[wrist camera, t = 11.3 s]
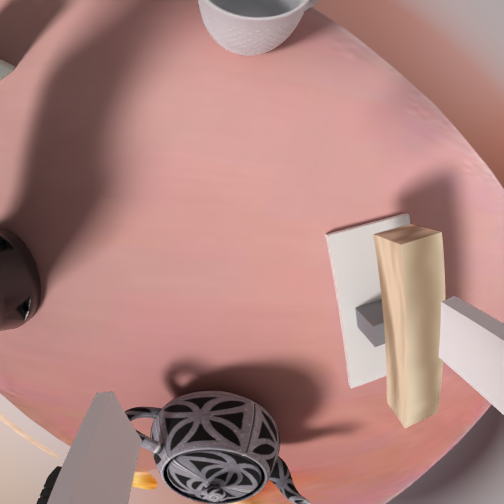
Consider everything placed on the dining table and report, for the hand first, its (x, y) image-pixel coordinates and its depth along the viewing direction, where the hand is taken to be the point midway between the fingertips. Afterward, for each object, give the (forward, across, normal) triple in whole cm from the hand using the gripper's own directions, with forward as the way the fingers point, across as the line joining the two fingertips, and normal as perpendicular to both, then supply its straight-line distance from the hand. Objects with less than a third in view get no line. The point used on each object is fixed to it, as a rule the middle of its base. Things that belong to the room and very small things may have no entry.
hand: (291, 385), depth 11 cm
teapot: (+29, -10, -28) cm, 41 cm away
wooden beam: (+21, +16, -13) cm, 30 cm away
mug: (+29, +8, +26) cm, 40 cm away
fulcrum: (+28, +17, -14) cm, 35 cm away
